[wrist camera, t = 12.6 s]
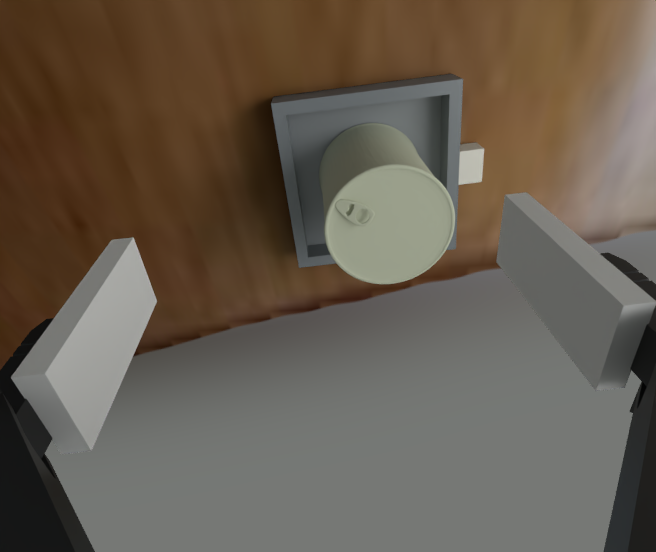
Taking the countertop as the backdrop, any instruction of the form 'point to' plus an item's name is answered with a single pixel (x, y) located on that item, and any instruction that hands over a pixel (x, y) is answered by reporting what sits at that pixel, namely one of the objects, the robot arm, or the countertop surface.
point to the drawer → (360, 108)
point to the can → (382, 206)
